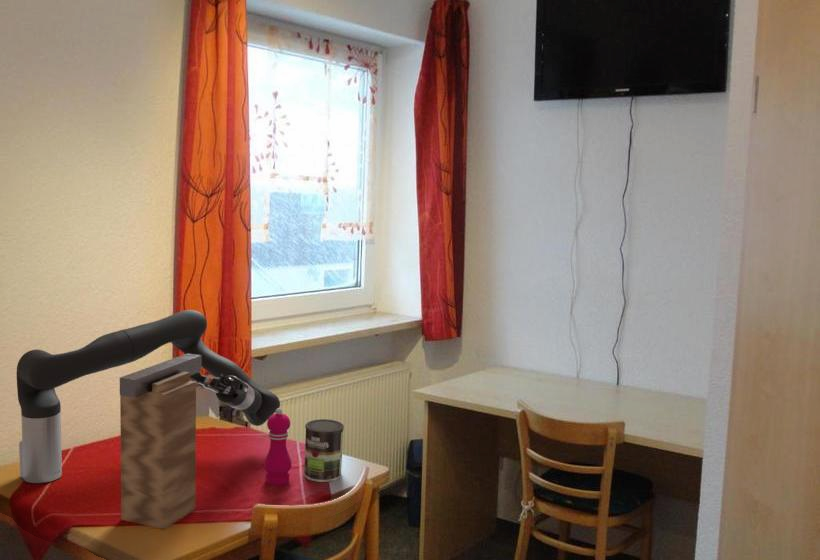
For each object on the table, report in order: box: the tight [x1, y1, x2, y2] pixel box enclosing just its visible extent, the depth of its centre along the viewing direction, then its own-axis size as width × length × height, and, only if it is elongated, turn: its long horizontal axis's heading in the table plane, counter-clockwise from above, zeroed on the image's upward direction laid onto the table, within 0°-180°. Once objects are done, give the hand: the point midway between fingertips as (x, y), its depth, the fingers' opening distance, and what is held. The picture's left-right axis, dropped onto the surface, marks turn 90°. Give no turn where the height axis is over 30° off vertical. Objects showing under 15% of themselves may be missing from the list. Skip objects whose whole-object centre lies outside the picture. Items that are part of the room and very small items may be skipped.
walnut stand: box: [119, 371, 197, 531], centre depth 193 cm, size 12×12×34 cm
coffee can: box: [303, 418, 345, 483], centre depth 223 cm, size 10×10×14 cm
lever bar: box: [119, 353, 203, 398], centre depth 192 cm, size 4×25×4 cm, turn 160°
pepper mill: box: [263, 407, 293, 486], centre depth 217 cm, size 7×7×20 cm
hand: (206, 376), depth 209 cm, fingers open, 8 cm apart
